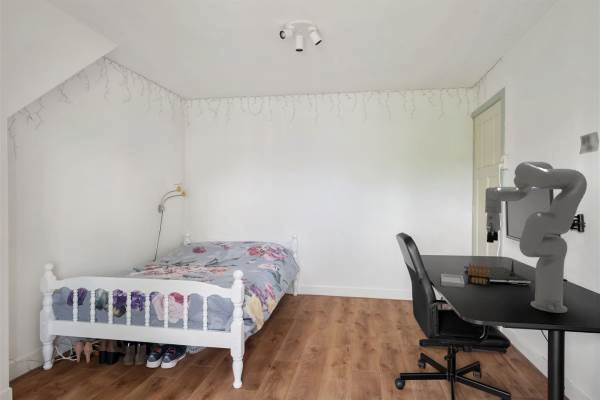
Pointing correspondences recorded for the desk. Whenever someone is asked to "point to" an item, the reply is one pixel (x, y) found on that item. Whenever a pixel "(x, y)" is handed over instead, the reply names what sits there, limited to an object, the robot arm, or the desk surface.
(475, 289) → the desk surface
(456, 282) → the tray
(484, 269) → the ammunition clip
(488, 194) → the robot arm
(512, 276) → the eiffel tower figurine
